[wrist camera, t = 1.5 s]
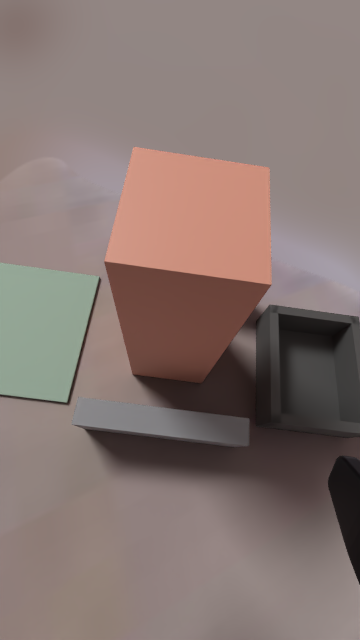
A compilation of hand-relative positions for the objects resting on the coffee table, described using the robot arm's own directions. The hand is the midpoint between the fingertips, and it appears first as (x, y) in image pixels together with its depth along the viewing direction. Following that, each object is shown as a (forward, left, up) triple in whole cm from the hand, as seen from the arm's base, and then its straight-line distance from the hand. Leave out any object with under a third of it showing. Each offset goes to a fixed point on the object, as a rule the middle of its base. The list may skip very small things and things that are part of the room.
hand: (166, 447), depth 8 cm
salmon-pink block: (+6, -4, -13) cm, 15 cm away
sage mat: (+12, +6, -13) cm, 19 cm away
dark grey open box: (+1, -12, -13) cm, 17 cm away
